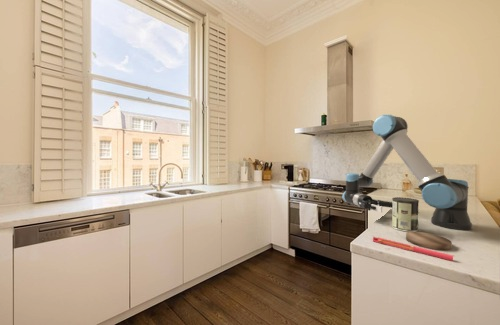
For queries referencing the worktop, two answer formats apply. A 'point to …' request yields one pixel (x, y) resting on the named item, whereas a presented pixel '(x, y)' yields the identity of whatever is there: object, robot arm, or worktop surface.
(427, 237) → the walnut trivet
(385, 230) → the worktop surface
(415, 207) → the coffee can
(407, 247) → the chopstick
